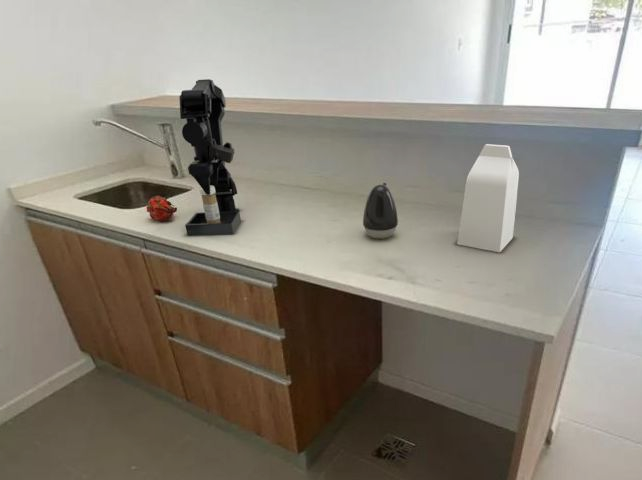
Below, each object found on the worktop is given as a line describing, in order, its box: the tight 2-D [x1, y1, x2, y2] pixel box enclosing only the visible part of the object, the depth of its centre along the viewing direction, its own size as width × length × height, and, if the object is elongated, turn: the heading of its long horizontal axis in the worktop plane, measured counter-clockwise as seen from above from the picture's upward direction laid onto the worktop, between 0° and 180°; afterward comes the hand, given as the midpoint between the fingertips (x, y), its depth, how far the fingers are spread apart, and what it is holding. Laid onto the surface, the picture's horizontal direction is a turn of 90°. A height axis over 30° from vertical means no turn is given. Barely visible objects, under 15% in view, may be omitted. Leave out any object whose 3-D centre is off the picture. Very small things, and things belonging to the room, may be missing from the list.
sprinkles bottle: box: [199, 185, 221, 224], centre depth 147 cm, size 5×5×14 cm
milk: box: [456, 143, 520, 253], centre depth 125 cm, size 12×12×26 cm
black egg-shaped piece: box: [362, 182, 399, 240], centre depth 135 cm, size 10×10×15 cm
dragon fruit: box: [146, 195, 178, 223], centre depth 159 cm, size 8×8×12 cm
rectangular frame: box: [184, 210, 242, 237], centre depth 150 cm, size 12×15×4 cm
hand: (212, 189), depth 144 cm, fingers open, 9 cm apart
